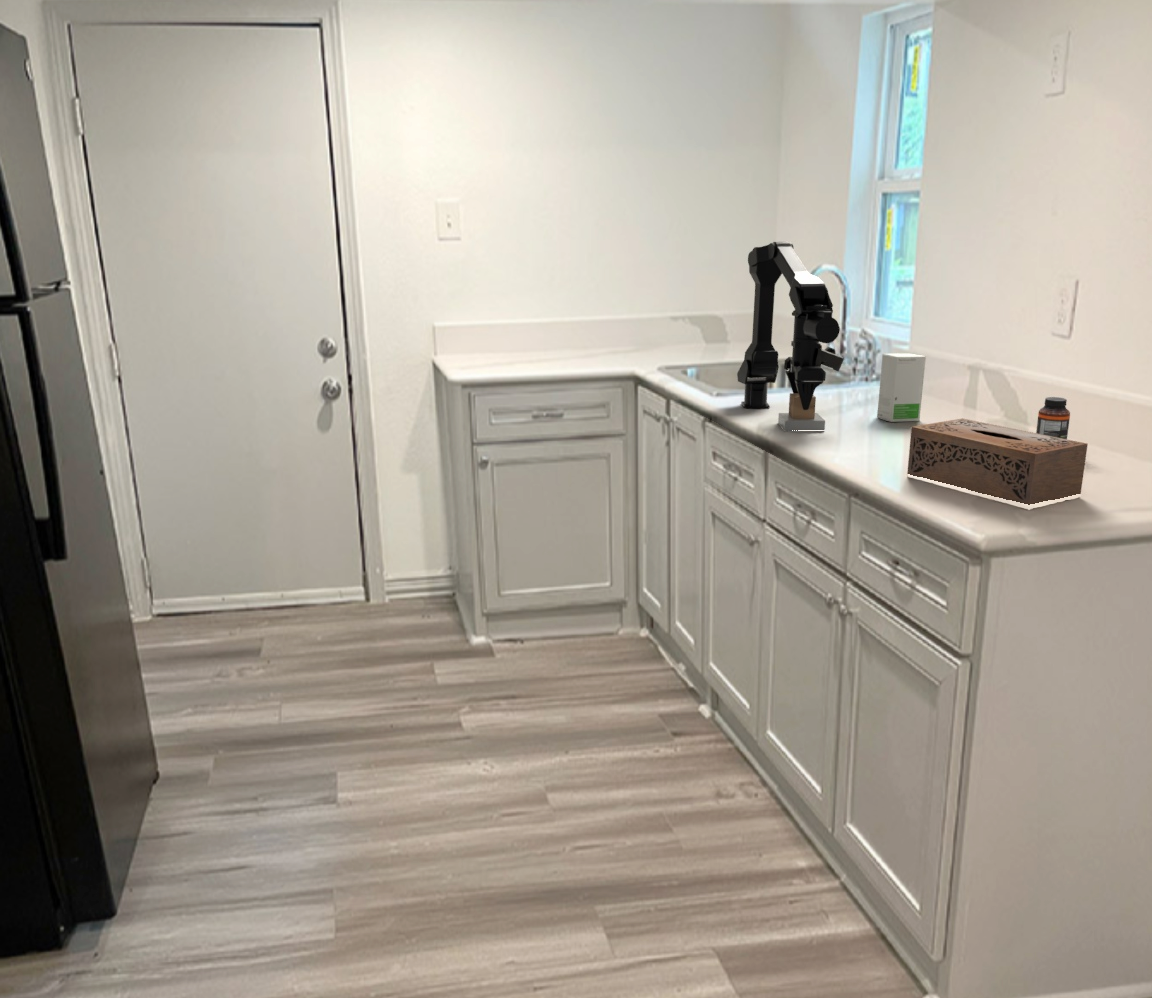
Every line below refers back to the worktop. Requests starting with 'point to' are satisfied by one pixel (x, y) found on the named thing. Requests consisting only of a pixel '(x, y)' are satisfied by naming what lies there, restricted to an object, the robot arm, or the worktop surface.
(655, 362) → the worktop surface
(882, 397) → the skincare box
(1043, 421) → the supplement bottle
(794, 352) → the robot arm
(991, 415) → the worktop surface
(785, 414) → the base
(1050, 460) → the tissue box cover
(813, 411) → the walnut cube
